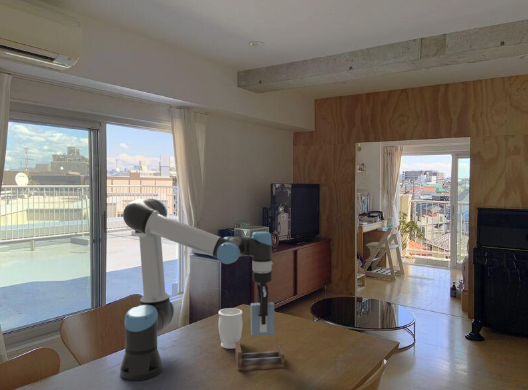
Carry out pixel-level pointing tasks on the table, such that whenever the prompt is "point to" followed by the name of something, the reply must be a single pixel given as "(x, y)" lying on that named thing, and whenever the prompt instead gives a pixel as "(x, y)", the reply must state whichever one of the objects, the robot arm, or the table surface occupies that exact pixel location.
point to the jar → (230, 327)
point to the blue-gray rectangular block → (256, 319)
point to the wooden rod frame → (258, 359)
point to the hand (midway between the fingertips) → (262, 330)
